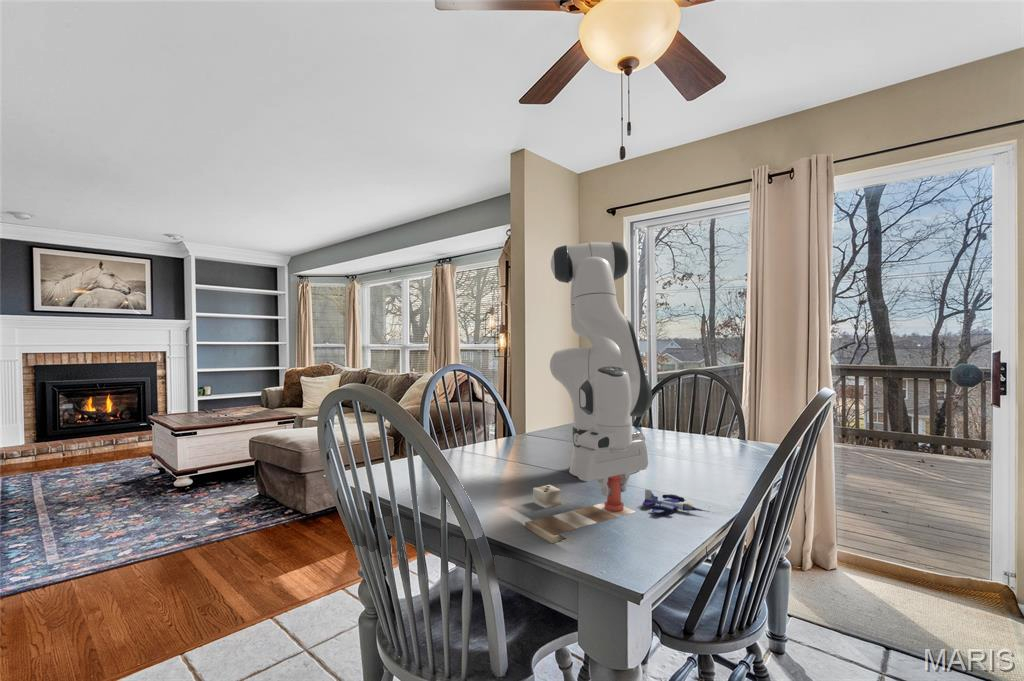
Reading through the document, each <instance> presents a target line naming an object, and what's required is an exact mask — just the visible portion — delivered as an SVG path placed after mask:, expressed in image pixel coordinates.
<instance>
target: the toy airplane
mask: <svg viewBox="0 0 1024 681" xmlns="http://www.w3.org/2000/svg"><path fill="white" fill-rule="evenodd" d="M661 498H663V499H662V500H658V499H659V497H658V496H655V495H654V493H653V492H652V491H651V490H649V489H645V490H644V501H643V502H642V503H641V504H642V505H644V506H650V508H651V513H655V514H670V515H673V514H675V513H676V512H679V511H680V510H681V511H683V512H684V511H685V512H687V513H689V512H693V511H698V512H699V511H701V512H708V513H710V511H709V510H706V509H705V510H703V509H701V508H699V507H695V506H694V505H693V504H691V503H689V502H685V501H687V500H686V499H685V498H684V497H682V496H678V495H676V494H662V497H661ZM684 502H685V503H684ZM654 504H656V505H654ZM712 513H715V512H713V511H712Z"/></svg>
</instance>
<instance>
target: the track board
mask: <svg viewBox="0 0 1024 681" xmlns="http://www.w3.org/2000/svg"><path fill="white" fill-rule="evenodd" d="M634 513H637V511H636V510H633V509H631V508H630V507H629V508H628V507H626V506H624V510H623V511H620V512H611V511H607V510H606V509H605V502H602V503H598V504H594V505H589V506H586V507H582V508H577V509H574V510H569V511H565V512H561V513H557V514H554V515H550V516H545V517H542V518H537V519H532V520H528V521H525V522H524V526H525V527H526V528H525V529H527V530H528V531H530V532H532V533H533V534H535V535H537V536H539V537H541V538H542V539H544V540H545V541H547V542H549V543H550V544H555V543H558V542H561V541H565V540H567V538H566V537H564V536H562V535H560V534H562V533H565V532H568V531H572V530H575V529H579V528H583V527H587V526H590V525H594V524H597V523H602V522H604V521H608V520H612V519H615V518H619V517H623V516H627V515H630V514H634Z"/></svg>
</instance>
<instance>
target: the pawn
mask: <svg viewBox="0 0 1024 681" xmlns="http://www.w3.org/2000/svg"><path fill="white" fill-rule="evenodd" d="M620 477H621V475H617V476H613V477H608V482H606V483H607V485H608V487H610V488H611V495H609V496H606V501H605V502H604V503H605V509H606V510H607V511H611V512H620V511H623V510H624V507H625V506H624V502H622V493H621V478H620Z"/></svg>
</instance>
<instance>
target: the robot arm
mask: <svg viewBox="0 0 1024 681" xmlns="http://www.w3.org/2000/svg"><path fill="white" fill-rule="evenodd" d="M630 260H631V258H630V253H629V251H628V248H627V246H626V245H625V244H624V243H623V242H618V241H611V242H607V241H606V242H605V241H590V242H586V243H585V242H584V243H578V244H571V245H567V244H566V245H561V246H558V247H556V248H555V249H554V250H553V254H552V256H551V260H550V268H551V272H552V275H553V276H554V279H556V280H557V281H558V282H560V283H565V284H569V283H570V282H571V283H570V284H571V285H570V319H571V320H570V322H571V328H572V330H573V331H574V333H576V334H577V335H578V336H580V337H582V338H584V339H586V340H588V342H590V344H591V347H568V348H562V349H559V350H556V351H555V352H554V353H553V354H552V356H551V358H550V361H549V370H550V372H551V375H552V378H554V379H555V380H556V381H557V382H558V383H560V384H561V385H562V387H564V388H565V390H566V391H567V393H568V394H569V397H570V399H571V404H572V413H573V427H572V441H573V448H572V457H571V464H570V467H569V471H568V472H569V473H570V475H572V476H575V477H578V479H579V480H581V481H584V482H587V483H588V482H593V481H597V482H598V484H599V486H600V487H601V495H602V496H604V497H607V496H609V495H611V488H610V487H608V485H607V482H608V477H613V476H617V475H621V477H620V478H621V494H622V493H626V490H627V489H626V488H627V487H626V485H627V484H628V481H629V479H630V475H631V474H633V473H636V472H639V471H644V470H646V469H647V468H648V466H649V456H648V449H647V448H648V447H647V444H646V437H645V435H644V434H643V433H642V432H641V431H635V432H633V422H632V421H633V420H632V418H631V417H637V418H640V417H642V416H644V415H645V414H646V413H647V412H648V411H649V410H650V408H652V404H653V401H654V400H653V392H652V389H651V388H652V387H651V386H650V382H649V381H648V378H647V375H646V371H645V366H644V364H643V361H642V356H641V352H640V348H639V345H638V341H637V336H636V332H635V329H634V326H633V324H632V323H633V322H631V319H630V318H629V317H627V316H626V315H624V314H623V312H622V311H621V309H620V307H619V303H618V301H617V289H616V284H615V283H616V280H620V279H621V278H623V277H624V276H625V275H626V274H627V273H628V269H629V266H630Z"/></svg>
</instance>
